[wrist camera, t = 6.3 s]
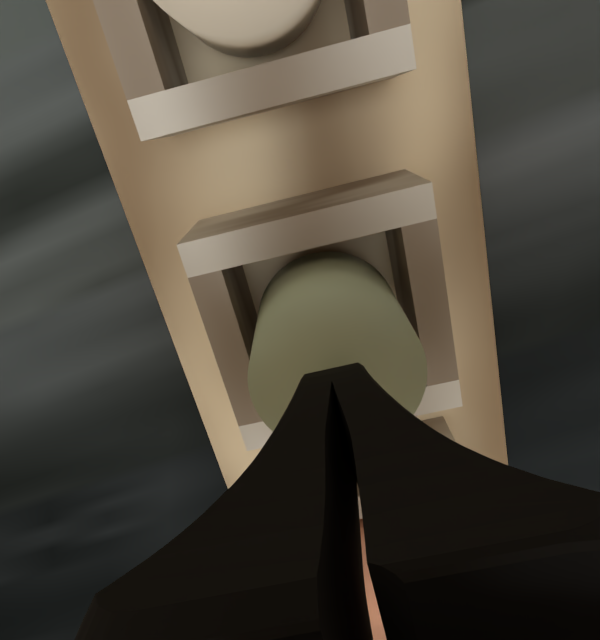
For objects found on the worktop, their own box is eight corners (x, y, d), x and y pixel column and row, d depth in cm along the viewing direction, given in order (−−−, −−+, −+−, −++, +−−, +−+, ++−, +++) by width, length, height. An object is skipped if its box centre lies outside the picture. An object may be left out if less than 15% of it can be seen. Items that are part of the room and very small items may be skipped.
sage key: (383, 236, 15) (412, 275, 11) (406, 363, 17) (438, 435, 13) (241, 270, 15) (224, 319, 12) (278, 391, 17) (273, 468, 13)
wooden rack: (429, -258, 13) (482, -407, 9) (512, 534, 23) (553, 613, 20) (4, -124, 14) (-100, -210, 10) (265, 580, 24) (260, 663, 21)
